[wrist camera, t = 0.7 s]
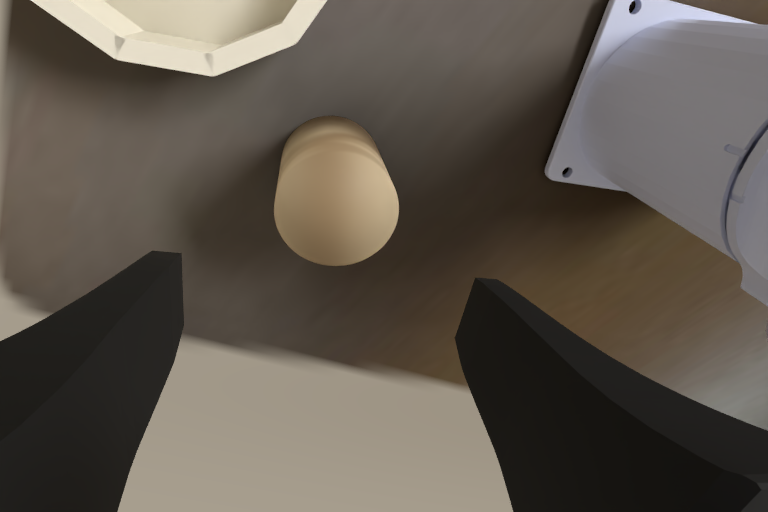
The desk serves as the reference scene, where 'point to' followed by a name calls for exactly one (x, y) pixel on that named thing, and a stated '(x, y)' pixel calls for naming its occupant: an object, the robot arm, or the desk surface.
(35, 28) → the desk surface
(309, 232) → the tan wooden cylinder
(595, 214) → the desk surface
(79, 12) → the bowl
